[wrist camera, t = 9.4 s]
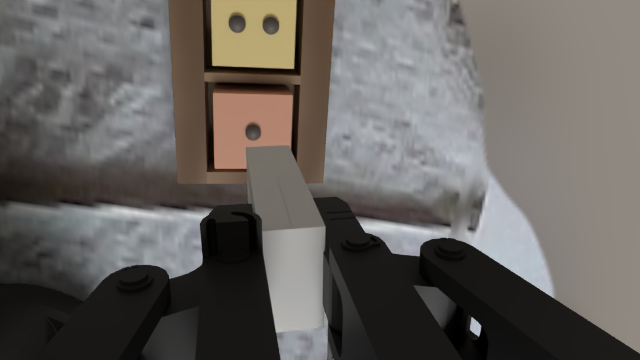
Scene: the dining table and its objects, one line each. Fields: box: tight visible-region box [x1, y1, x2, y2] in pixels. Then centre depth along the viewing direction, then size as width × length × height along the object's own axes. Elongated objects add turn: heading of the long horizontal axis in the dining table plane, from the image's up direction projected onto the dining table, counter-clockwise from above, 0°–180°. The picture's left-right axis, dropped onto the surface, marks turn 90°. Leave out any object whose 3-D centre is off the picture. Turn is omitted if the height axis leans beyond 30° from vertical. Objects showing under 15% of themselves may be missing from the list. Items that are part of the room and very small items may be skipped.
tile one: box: [213, 84, 293, 169], centre depth 29 cm, size 4×4×3 cm
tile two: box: [211, 0, 297, 69], centre depth 27 cm, size 4×4×3 cm
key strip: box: [169, 0, 335, 184], centre depth 28 cm, size 9×19×4 cm, turn 176°
